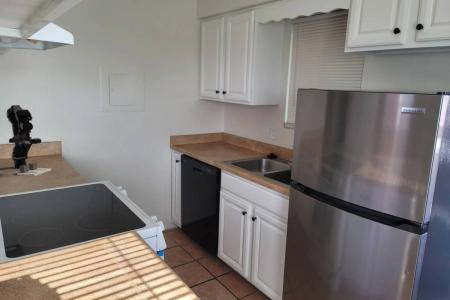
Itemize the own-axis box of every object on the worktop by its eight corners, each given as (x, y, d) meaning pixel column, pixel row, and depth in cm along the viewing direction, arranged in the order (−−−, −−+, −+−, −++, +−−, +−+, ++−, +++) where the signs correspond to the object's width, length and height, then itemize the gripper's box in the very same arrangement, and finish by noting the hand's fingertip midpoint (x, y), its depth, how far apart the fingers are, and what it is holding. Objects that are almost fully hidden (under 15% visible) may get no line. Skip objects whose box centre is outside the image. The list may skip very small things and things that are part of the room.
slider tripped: (20, 172, 211) (19, 166, 210) (24, 170, 215) (24, 164, 214) (24, 172, 210) (23, 166, 210) (28, 171, 214) (28, 165, 214)
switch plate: (17, 175, 209) (17, 173, 209) (34, 169, 225) (34, 167, 225) (34, 176, 208) (34, 174, 207) (51, 170, 223) (51, 168, 223)
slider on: (29, 169, 219) (28, 163, 218) (33, 168, 222) (32, 162, 222) (33, 169, 218) (32, 163, 217) (37, 168, 222) (36, 162, 221)
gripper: (0, 130, 201) (3, 155, 204) (28, 131, 199) (30, 157, 202) (14, 128, 212) (16, 152, 215) (41, 129, 210) (43, 153, 213)
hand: (26, 154), depth 211 cm, fingers closed
